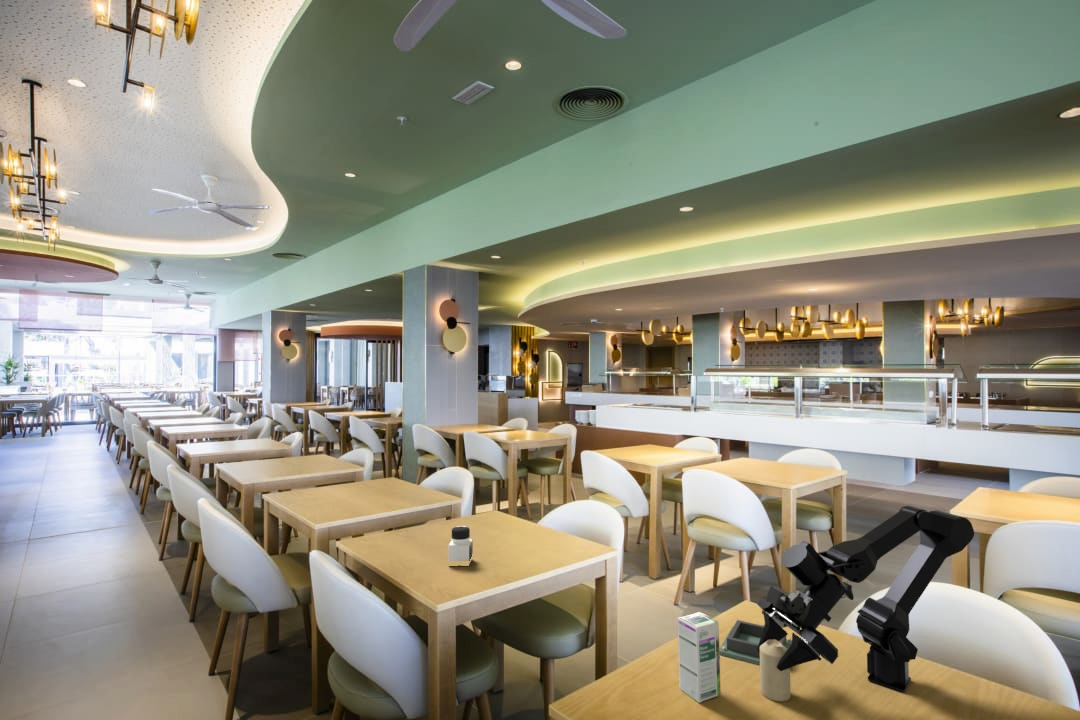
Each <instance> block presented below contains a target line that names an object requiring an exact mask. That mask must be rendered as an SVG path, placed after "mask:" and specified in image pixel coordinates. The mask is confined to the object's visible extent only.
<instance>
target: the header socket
mask: <svg viewBox="0 0 1080 720" xmlns="http://www.w3.org/2000/svg"><path fill="white" fill-rule="evenodd" d="M763 629H764V625H762V624H758V623H752V622H747V621H744V620H739V619H737V620H736V622H735V623H734V625H733V626H732V627H731V629H730V630H729V632H728V633H727V636H726V637H725V639H724V640H723V642H722V644H721V645H720V646H719V655H720V656H724V657H728V658H732V659H735V660H739V661H744V662H747V663H752V664H755V665H759V666H760V653H759V652H758V651H757V648H758V645H759V642H760V639H761V636H762V633H763ZM779 642H780V643H781V644H783V645H784V646H785V647H786V648H787V649H788V648H789V647H790V645H791V644H792V638H790V637H787V635H786V636H785V637H784V638H783V639H781V640H780V641H779Z"/></svg>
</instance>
